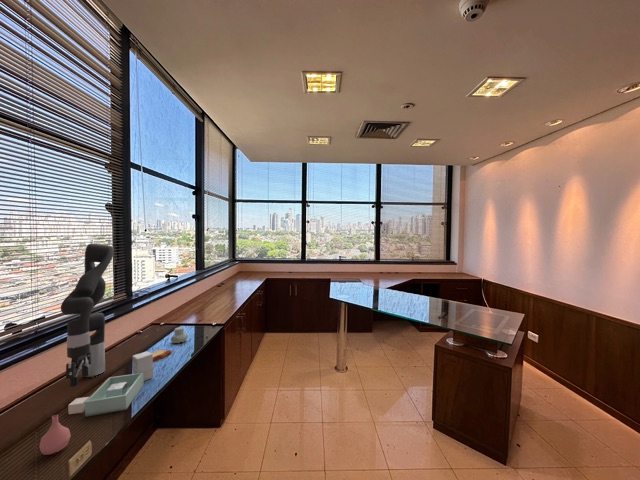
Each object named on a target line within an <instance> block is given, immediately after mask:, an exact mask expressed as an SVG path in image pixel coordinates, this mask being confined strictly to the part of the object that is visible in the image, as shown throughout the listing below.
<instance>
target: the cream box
mask: <svg viewBox="0 0 640 480" xmlns="http://www.w3.org/2000/svg"><path fill="white" fill-rule="evenodd" d="M89 398H90V396H84V397H77V398H75V399H74V400H73V401H71V403H69V404H68V405H67V407H68V415H74V414H81V413H84V412H85V402H86V401H87V400H88V399H89Z"/></svg>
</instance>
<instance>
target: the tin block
mask: <svg viewBox="0 0 640 480" xmlns="http://www.w3.org/2000/svg"><path fill="white" fill-rule="evenodd" d="M126 392H127V382H123V383H117V384H112V385H111V386H110V387H109V388H108V389H107V390H106V398H108V397H114V396H120V395H125V394H126Z"/></svg>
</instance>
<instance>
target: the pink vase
mask: <svg viewBox="0 0 640 480" xmlns="http://www.w3.org/2000/svg"><path fill="white" fill-rule="evenodd" d="M71 436H72V435H71V431H70V429H69V428H68V427H66V426H64V425H62V424H61V423H60V422H59V414H55V415H52V416H51V425H50V426H49V429H48V430H47V432H46V433H45V434H44V435H43V436H42V437H41V438H40V442H39V450H40V452H41V454H42V455H44V456H46V455H54V454H56V453H55V452H57V453H59V452H60V451H61V450H63V449H65V447H67V446H68V445H69V442H70V439H71ZM53 453H54V454H53Z"/></svg>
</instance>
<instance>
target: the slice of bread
mask: <svg viewBox="0 0 640 480" xmlns="http://www.w3.org/2000/svg"><path fill="white" fill-rule="evenodd" d="M150 353H151V354H153V363H155V362H158V361H159V360H161V359H163V358H165V357H167V356H168V355H170V354H171V353H172V350H171V349H162V348H161V349H160V348H158V349H157V350H153V351H151V352H150ZM154 361H155V362H154Z"/></svg>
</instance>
